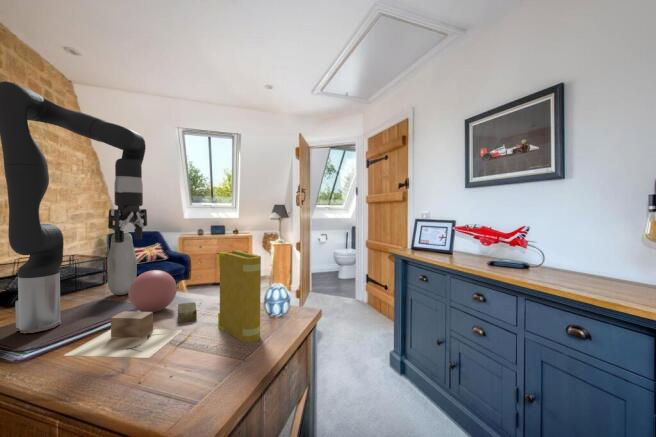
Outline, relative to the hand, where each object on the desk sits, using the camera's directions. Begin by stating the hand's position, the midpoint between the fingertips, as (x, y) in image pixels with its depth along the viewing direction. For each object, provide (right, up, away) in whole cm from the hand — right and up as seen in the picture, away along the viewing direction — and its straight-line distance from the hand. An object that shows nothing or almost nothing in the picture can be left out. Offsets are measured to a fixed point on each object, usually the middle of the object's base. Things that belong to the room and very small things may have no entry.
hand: (129, 240), depth 92 cm
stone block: (+16, -29, +6) cm, 33 cm away
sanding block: (+7, -27, -9) cm, 30 cm away
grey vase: (-26, -27, +32) cm, 49 cm away
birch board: (+9, -29, -13) cm, 33 cm away
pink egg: (-2, -28, +15) cm, 32 cm away
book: (+37, -29, -2) cm, 47 cm away
